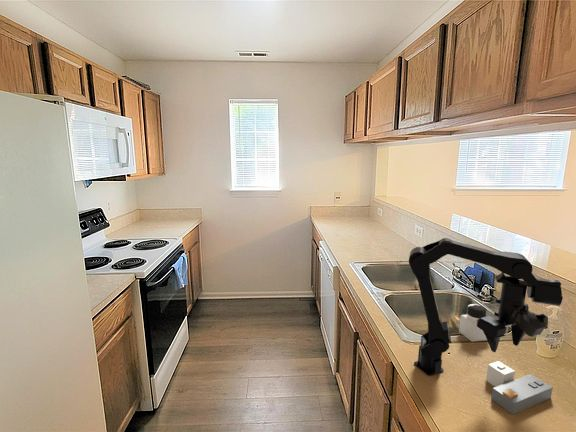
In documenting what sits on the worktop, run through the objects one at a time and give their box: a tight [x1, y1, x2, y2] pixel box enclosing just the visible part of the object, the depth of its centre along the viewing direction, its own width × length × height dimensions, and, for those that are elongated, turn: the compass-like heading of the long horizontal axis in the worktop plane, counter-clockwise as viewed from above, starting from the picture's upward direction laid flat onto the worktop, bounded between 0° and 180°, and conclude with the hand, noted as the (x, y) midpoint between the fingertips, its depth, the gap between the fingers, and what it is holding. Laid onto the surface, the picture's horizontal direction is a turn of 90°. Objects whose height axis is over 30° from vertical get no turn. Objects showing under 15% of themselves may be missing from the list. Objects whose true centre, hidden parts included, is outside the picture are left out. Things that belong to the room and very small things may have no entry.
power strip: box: [491, 373, 553, 415], centre depth 92 cm, size 6×16×4 cm, turn 112°
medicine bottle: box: [458, 303, 487, 343], centre depth 123 cm, size 7×7×12 cm
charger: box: [485, 360, 516, 387], centre depth 97 cm, size 8×4×6 cm, turn 22°
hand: (504, 348), depth 96 cm, fingers open, 9 cm apart
